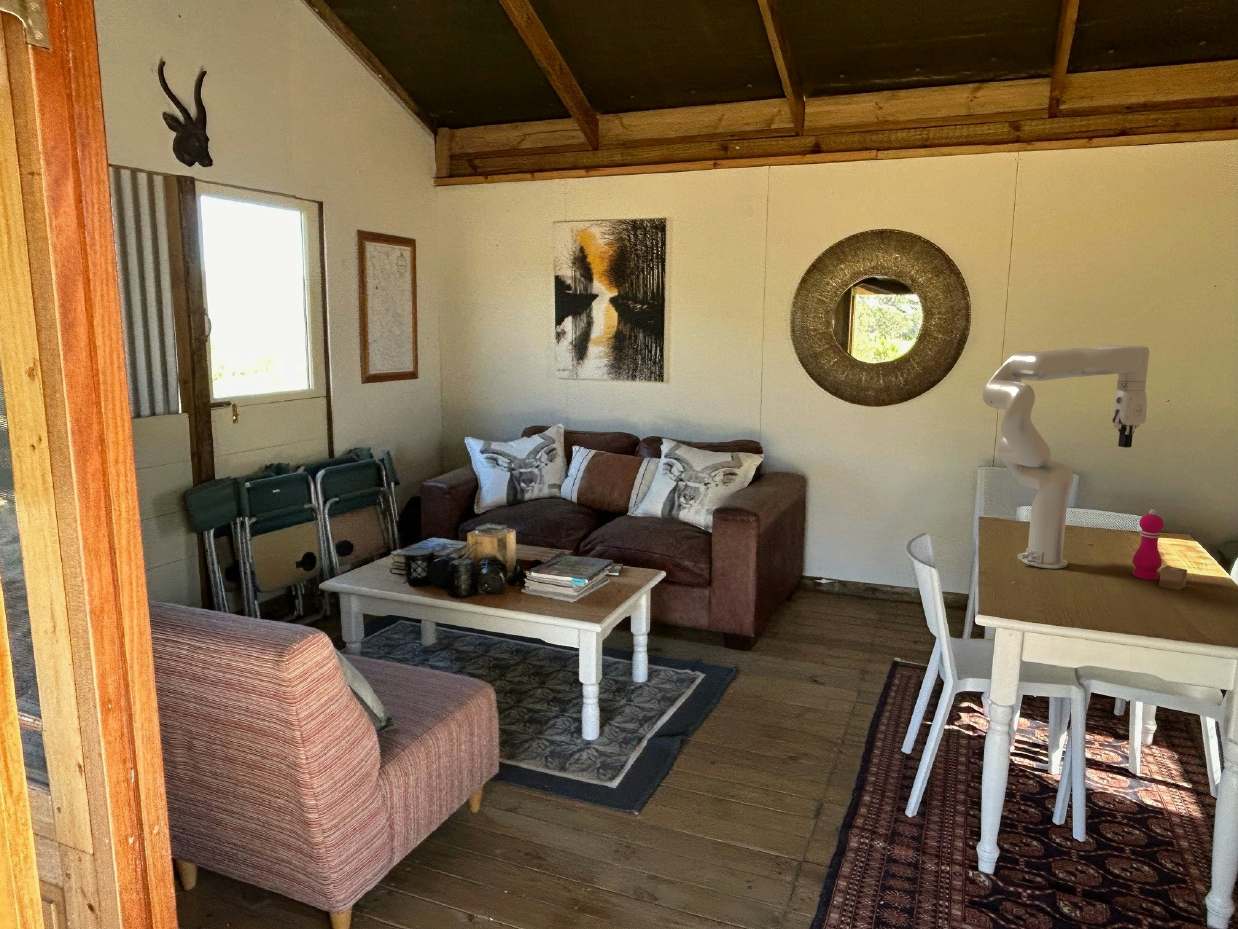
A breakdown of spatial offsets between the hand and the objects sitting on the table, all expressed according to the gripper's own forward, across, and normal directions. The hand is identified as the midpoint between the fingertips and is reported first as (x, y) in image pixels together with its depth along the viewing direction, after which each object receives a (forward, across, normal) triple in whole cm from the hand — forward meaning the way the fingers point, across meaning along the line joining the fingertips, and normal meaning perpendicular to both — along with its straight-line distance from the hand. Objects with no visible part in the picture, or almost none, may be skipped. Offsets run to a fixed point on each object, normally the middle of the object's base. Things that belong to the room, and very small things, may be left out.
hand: (1124, 446), depth 265 cm
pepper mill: (+35, -10, -17) cm, 40 cm away
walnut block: (+35, -12, -26) cm, 45 cm away
